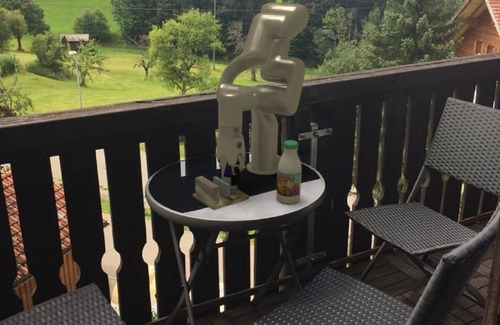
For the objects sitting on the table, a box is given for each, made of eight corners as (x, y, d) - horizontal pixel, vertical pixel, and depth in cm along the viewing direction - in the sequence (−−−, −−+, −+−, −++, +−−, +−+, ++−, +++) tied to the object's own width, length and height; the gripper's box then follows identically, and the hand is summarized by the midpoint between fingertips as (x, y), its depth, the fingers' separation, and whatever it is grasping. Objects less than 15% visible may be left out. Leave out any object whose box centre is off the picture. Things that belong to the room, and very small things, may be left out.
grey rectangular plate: (216, 188, 182) (216, 176, 180) (234, 199, 175) (234, 186, 173) (213, 189, 181) (213, 177, 180) (231, 200, 174) (231, 187, 172)
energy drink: (235, 193, 178) (236, 159, 173) (219, 192, 179) (219, 157, 174) (239, 187, 183) (239, 153, 178) (223, 185, 183) (223, 152, 179)
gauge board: (227, 186, 188) (227, 167, 185) (248, 198, 179) (249, 179, 176) (193, 196, 180) (192, 176, 177) (213, 209, 171) (213, 189, 168)
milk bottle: (277, 193, 183) (280, 137, 176) (300, 195, 182) (304, 139, 174) (274, 203, 176) (277, 145, 169) (298, 205, 175) (302, 147, 167)
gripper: (256, 134, 169) (255, 188, 176) (224, 120, 181) (224, 171, 188) (237, 139, 165) (236, 193, 171) (205, 124, 177) (205, 176, 184)
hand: (229, 181), depth 180 cm, fingers closed on energy drink, 5 cm apart
